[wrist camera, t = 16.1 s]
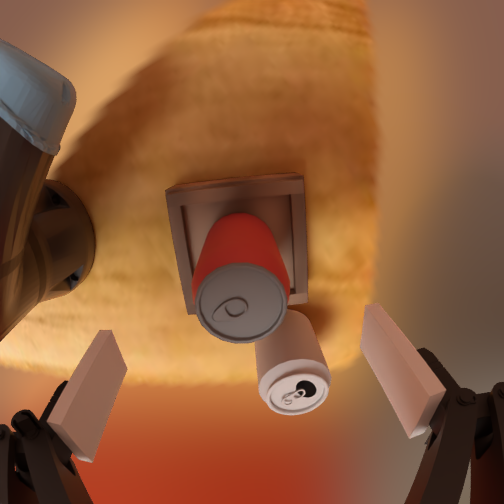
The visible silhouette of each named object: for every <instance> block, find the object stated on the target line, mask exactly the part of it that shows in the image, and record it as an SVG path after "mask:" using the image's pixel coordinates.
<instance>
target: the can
mask: <svg viewBox="0 0 504 504" xmlns="http://www.w3.org/2000/svg"><path fill="white" fill-rule="evenodd" d="M255 352H256V363H257V375H258V385H259V394H260V396H261V397H262V399H263V400H264V401H265V402H266V403H267V404H268V406H269V408H270V409H272V410H273V411H275V412H277V413H280V414H284V415H298V414H303V413H306V412H309V411H311V410H313V409H315V408H317V407H318V406H319V405H320V404H321V403H323V402H324V400H325V399H326V397H327V395H328V391H329V386H330V383H331V375H330V372H329V369H328V366H327V364H326V361H325V358H324V356H323V353H322V351H321V348H320V345H319V343H318V340H317V338H316V335H315V333H314V330H313V328H312V325H311V323H310V320H309V319H308V318H307V317H306V316H305V315H304V314H302V313H300V312H298V311H295V310H289V309H287V312H286V315H285V317H284V319H283V322H282V323H281V324H280V326H279V327H278V328H277V329H276V330H275V331H274V332H273V333H272V334H270V335H268V336H267V337H265V338H264V339H262V340H258V341H255Z"/></svg>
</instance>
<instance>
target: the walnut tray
mask: <svg viewBox="0 0 504 504" xmlns="http://www.w3.org/2000/svg"><path fill="white" fill-rule="evenodd" d="M165 192H166V200H167V207H168V213H169V220H170V226H171V232H172V237H173V243H174V249H175V254H176V259H177V265H178V270H179V275H180V280H181V285H182V290H183V294H184V299H185V303H186V308H187V312H188V315H191V314H196V311H195V305H194V303H193V297H192V287H191V283H192V279H193V275H194V271H195V268H196V265H197V262H198V259H199V256H200V254H201V251H202V248H203V245H204V243H205V240H206V237H207V234H208V232H209V230H210V229H211V228H212V226H213V225H214V223H216V222H217V221H218V220H219V219H221V218H222V217H224V216H227V215H230V214H233V213H247V214H250V215H254V216H256V217H258V218H259V219H261V220H262V221H263V222H265V223H266V225H267V226H268V227H269V229H270V230H271V232H272V234H273V237H274V239H275V242H276V244H277V247H278V249H279V252H280V254H281V257H282V259H283V262H284V264H285V267H286V270H287V273H288V276H289V280H290V295H289V301H288V304H287V305H294V304H302V303H308V266H307V234H306V211H305V193H304V177H303V175H300V174H298V173H283V174H270V175H258V176H248V177H238V178H228V179H220V180H211V181H203V182H195V183H188V184H181V185H174V186H172V187H170V188H169V189H167V190H165Z"/></svg>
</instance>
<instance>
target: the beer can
mask: <svg viewBox="0 0 504 504" xmlns="http://www.w3.org/2000/svg"><path fill="white" fill-rule="evenodd" d="M191 287H192V297H193V303H194V305H195V311H196V315H197V317H198V319H199V321H200V323H201V325H202V326H203V327H204V328H205V329H206V330H207V331H208V332H209V333H210V334H212V335H213V336H215V337H217V338H219V339H221V340H223V341H227V342H231V343H251V342H255V341H258V340H262V339H264V338H265V337H267V336H268V335H270V334H272V333H273V332H274V331H275V330H276V329H277V328H278V327H279V326H280V324H281V323H282V322H283V319H284V317H285V315H286V312H287V304H288V301H289V295H290V280H289V276H288V273H287V270H286V267H285V264H284V262H283V259H282V257H281V254H280V252H279V249H278V247H277V244H276V242H275V239H274V237H273V234H272V232H271V230H270V229H269V227H268V226H267V225H266V223H265V222H263V221H262V220H261V219H259V218H258V217H256V216H254V215H250V214H247V213H233V214H230V215H227V216H224V217H222V218H221V219H219V220H218V221H217V222H216V223H214V225H213V226H212V228H211V229H210V230H209V232H208V234H207V237H206V240H205V243H204V245H203V248H202V251H201V254H200V256H199V259H198V262H197V265H196V268H195V271H194V275H193V279H192V283H191Z"/></svg>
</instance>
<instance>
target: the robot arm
mask: <svg viewBox="0 0 504 504" xmlns="http://www.w3.org/2000/svg"><path fill="white" fill-rule="evenodd" d="M75 105H76V92H75V88H74V87H73V85H72V83H71V82H70V81H69V80H68V79H67V78H65V77H64V76H62V75H61V74H60V73H58V72H57V71H55V70H54V69H52V68H50V67H49V66H47V65H46V64H44V63H42V62H41V61H39V60H37V59H36V58H34V57H32V56H31V55H29V54H27V53H26V52H24V51H22V50H20V49H19V48H17V47H15V46H13V45H11V44H10V43H8V42H6V41H4V40H2V39H0V342H1V341H2V339H3V338H4V337H5V336H6V335H7V334H8V333H9V332H10V331H11V330H12V329H13V328H14V327H15V326H16V325H17V324H18V323H19V322H20V321H21V320H22V319H23V318H24V317H25V316H26V315H27V314H28V313H29V312H30V311H31V310H32V309H33V308H34V307H35V306H36V305H37V304H38V303H40V302H43V301H46V300H50V299H53V298H57V297H60V296H63V295H66V294H68V293H70V292H71V291H73V290H74V289H75V288H76V287H77V286H78V285H79V284H80V283H81V282H82V281H83V280H84V279H85V278H86V276H87V275H88V273H89V271H90V269H91V266H92V263H93V259H94V252H95V241H94V233H93V228H92V224H91V221H90V218H89V216H88V213H87V211H86V209H85V207H84V205H83V204H82V202H81V201H80V199H79V198H78V197H77V196H76V194H75V193H74V192H73V191H72V190H70V189H69V188H68V187H67V186H65V185H63V184H62V183H60V182H57V181H54V180H48V179H46V176H47V174H48V171H49V168H50V166H51V163H52V161H53V158H54V156H55V155H57V154H58V152H59V150H60V141H61V139H62V136H63V134H64V132H65V129H66V127H67V124H68V122H69V120H70V118H71V115H72V113H73V111H74V108H75ZM360 348H361V350H362V352H363V354H364V355H365V357H366V359H367V361H368V362H369V364H370V366H371V368H372V370H373V371H374V373H375V375H376V377H377V379H378V380H379V382H380V384H381V386H382V388H383V390H384V391H385V393H386V395H387V397H388V399H389V401H390V403H391V405H392V406H393V408H394V410H395V412H396V414H397V416H398V418H399V420H400V422H401V423H402V425H403V427H404V429H405V431H406V433H407V435H408V437H409V439H410V438H412V437H415V436H417V435H420V434H422V433H424V432H425V431H426V429H427V427H428V425H430V427H431V429H432V432H431V434H430V436H429V437H428V439H427V441H426V442H425V444H427V446H426V450H425V453H424V455H423V458H422V461H421V464H420V467H419V470H418V472H417V475H416V477H415V480H414V482H413V485H412V487H411V490H410V492H409V494H408V497H407V499H406V501H405V503H404V504H458V502H459V499H460V496H461V492H462V489H463V486H464V482H465V478H466V474H467V470H468V466H469V461H470V459H471V493H470V504H504V382H499V383H497V384H496V385H494V387H493V389H492V391H491V392H487V393H481V394H476V393H475V392H473V391H472V390H470V389H467V388H460V387H459V385H458V384H457V383H456V382H455V380H454V379H453V378H452V377H451V375H450V374H449V373H448V371H447V370H446V369H445V368H443V365H442V364H441V363H440V362H439V361H438V359H437V358H436V357H435V355H434V354H433V353H432V352H430V351H429V350H427V349H425V348H421V349H418V350H416V349H415V348H414V346H413V345H412V344H411V343H410V341H409V340H408V339H407V338H406V336H405V335H404V334H403V333H402V331H401V330H400V329H399V328H398V326H397V325H396V324H395V323H394V321H393V320H392V319H391V318H390V316H389V315H388V314H387V313H386V312H385V310H384V309H383V308H382V307H381V306H380V304H379V303H376V304H370V305H365V312H364V321H363V329H362V337H361V344H360ZM126 372H127V367H126V364H125V362H124V360H123V357H122V355H121V353H120V350H119V348H118V345H117V343H116V340H115V337H114V335H113V332H112V330H100V331H99V332H98V334H97V335H96V337H95V338H94V340H93V342H92V343H91V345H90V346H89V348H88V350H87V351H86V353H85V354H84V356H83V358H82V359H81V361H80V363H79V364H78V366H77V368H76V369H75V371H74V373H73V374H72V376H71V378H70V380H69V381H64V382H63V383H62V384H60V385H59V386H58V388H57V389H56V391H55V392H54V394H53V395H54V396H52V398H51V399H50V402H49V403H48V405H47V407H46V408H45V410H44V412H43V414H42V416H41V418H40V419H39V420H38V419H37V418H36V416H35V415H34V414H33V413H32V412H31V411H30V410H21V411H19V412H17V413H16V414H15V415H14V416H13V418H12V420H11V425H12V427H13V428H14V429H15V430H16V432H12V431H11V430H10V429H9V427H8V426H6V425H5V424H0V504H93V502H92V500H91V498H90V496H89V494H88V492H87V490H86V488H85V486H84V484H83V482H82V480H81V478H80V476H79V473H78V471H77V469H76V466H75V464H74V462H73V461H72V459H71V458H70V457H71V454H72V453H73V454H74V455H75V456H76V457H77V458H78V459H79V460H83V461H87V462H92V463H93V460H94V457H95V454H96V451H97V448H98V445H99V442H100V439H101V436H102V434H103V431H104V428H105V425H106V423H107V420H108V417H109V415H110V412H111V409H112V407H113V404H114V401H115V399H116V396H117V394H118V391H119V389H120V386H121V384H122V381H123V379H124V376H125V374H126ZM15 466H16V471H15Z"/></svg>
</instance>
